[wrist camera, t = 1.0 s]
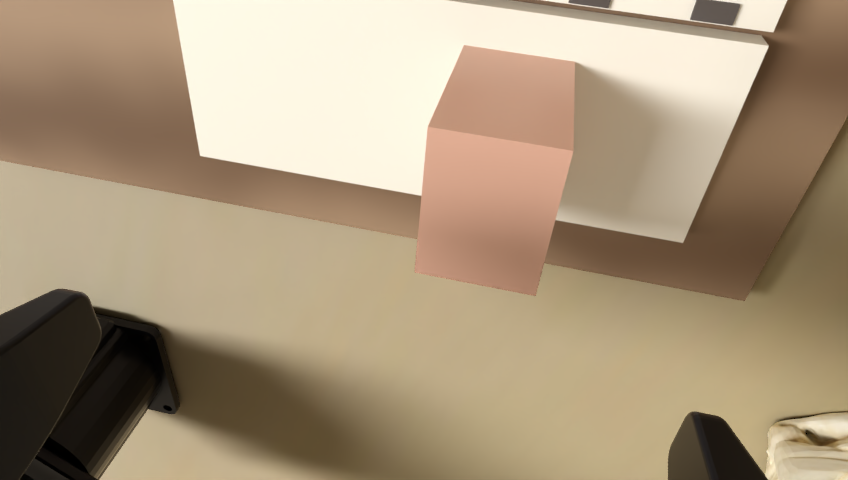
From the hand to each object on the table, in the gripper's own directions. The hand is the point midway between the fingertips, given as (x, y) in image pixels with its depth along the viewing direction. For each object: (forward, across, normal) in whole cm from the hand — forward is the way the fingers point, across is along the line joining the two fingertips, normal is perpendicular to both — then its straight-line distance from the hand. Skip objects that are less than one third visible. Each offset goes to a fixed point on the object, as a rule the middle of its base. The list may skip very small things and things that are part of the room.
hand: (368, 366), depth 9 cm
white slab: (+12, +1, +1) cm, 12 cm away
